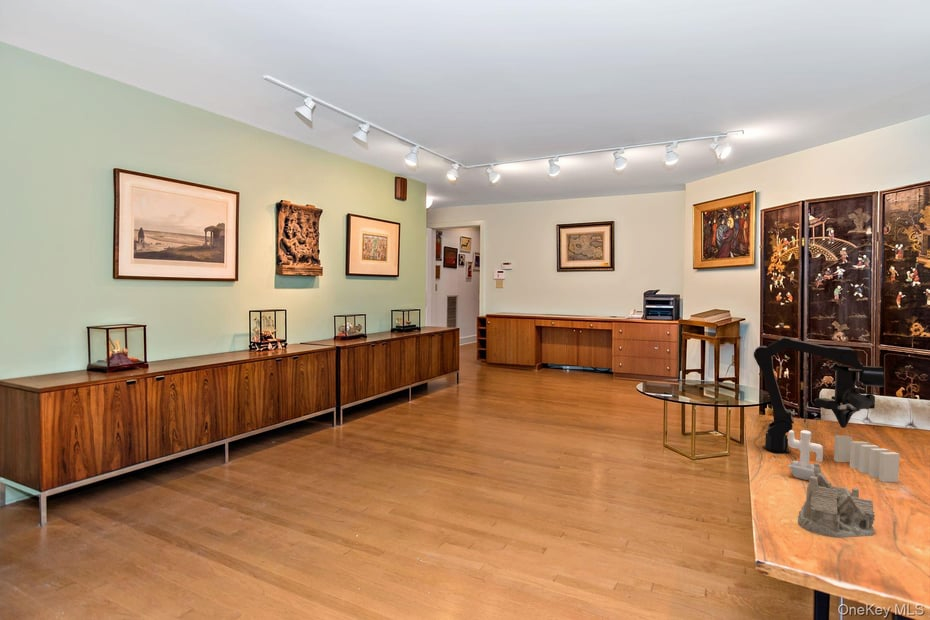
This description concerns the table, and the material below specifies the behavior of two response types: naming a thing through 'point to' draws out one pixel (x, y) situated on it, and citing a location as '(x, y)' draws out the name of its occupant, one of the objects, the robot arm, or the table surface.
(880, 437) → the table surface
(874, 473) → the domino
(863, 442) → the domino
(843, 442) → the domino
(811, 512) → the ceramic cottage
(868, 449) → the domino
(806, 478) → the figurine
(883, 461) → the domino
